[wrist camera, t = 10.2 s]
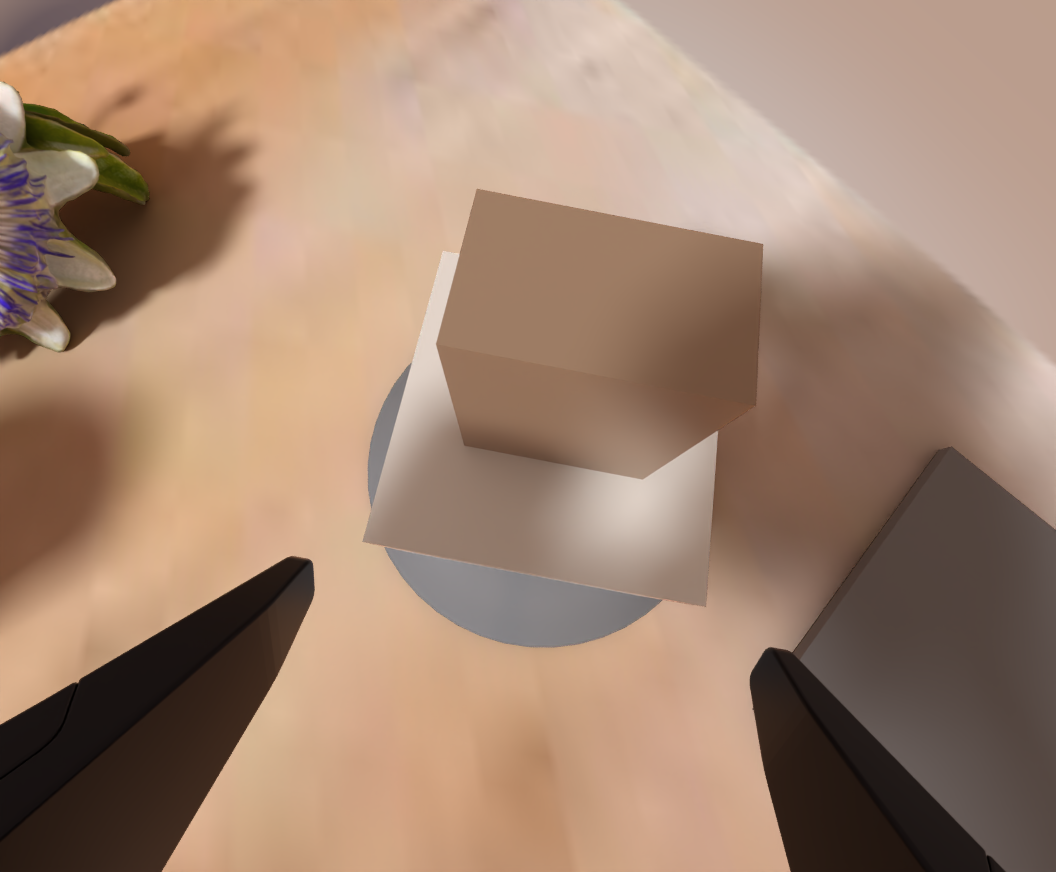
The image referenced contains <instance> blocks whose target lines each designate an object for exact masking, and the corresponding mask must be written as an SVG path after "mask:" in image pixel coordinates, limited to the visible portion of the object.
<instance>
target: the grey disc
mask: <svg viewBox="0 0 1056 872" xmlns="http://www.w3.org/2000/svg"><path fill="white" fill-rule="evenodd" d="M411 365H412V363H411V364H410V365H409V366H408V367H407V368H406V369H405V371H404V372H403V373H402V375H401V376H400V377H399V379H398V380H397V381H396V383H395V384H394V386H393V388H392V389H391V391H390V393H389V395H388V396H387V398H386V400H385V402H384V404H383V406H382V409H381V411H380V414H379V416H378V419H377V421H376V424H375V428H374V432H373V436H372V440H371V444H370V452H369V460H368V491H369V497H370V503H371V509H372V505H373V502H374V498H375V495H376V491H377V487H378V484H379V480H380V477H381V473H382V469H383V466H384V462H385V459H386V455H387V451H388V448H389V444H390V440H391V437H392V433H393V430H394V426H395V422H396V419H397V415H398V412H399V408H400V404H401V401H402V397H403V394H404V390H405V386H406V383H407V379H408V375H409V372H410V368H411ZM385 549H386V551H387V553H388V556H389V557H390V559H391V560H392V562H393V564H394V565H395V567H396V568H397V570H398V571H399V573H400V574H401V576H402V577H403V578H404V580H405V581H406V582H407V583H408V584H409V585H410V587H411V588H412V589H413V590H414V591H415V592H416V594H417V595H418V596H419V597H421V598H422V599H423V600H424V601H425V602H426V603H427V604H429V605H430V606H431V607H432V608H433V609H434V610H435V611H437V612H438V613H440V614H441V615H443V616H444V617H446V618H447V619H449V620H450V621H452V622H453V623H455V624H456V625H458V626H460V627H462V628H465V629H467V630H469V631H471V632H473V633H475V634H477V635H480V636H482V637H486V638H489V639H492V640H496V641H499V642H502V643H506V644H513V645H519V646H526V647H561V646H568V645H576V644H581V643H584V642H588V641H592V640H595V639H599V638H602V637H605V636H607V635H609V634H611V633H614V632H616V631H618V630H620V629H623V628H625V627H627V626H628V625H630V624H631V623H633V622H634V621H636V620H638V619H639V618H641V617H642V616H644V615H646V614H647V613H648V612H649V611H650V610H651V609H653V608H654V607H655V606H656V605H657V604H658V603H660V602H661V601H662V600H661V599H655V598H649V597H643V596H637V595H632V594H627V593H621V592H616V591H611V590H606V589H600V588H595V587H590V586H585V585H579V584H574V583H569V582H563V581H558V580H553V579H548V578H542V577H537V576H532V575H527V574H521V573H516V572H511V571H506V570H500V569H495V568H490V567H484V566H479V565H474V564H469V563H463V562H458V561H453V560H448V559H442V558H437V557H432V556H426V555H421V554H416V553H411V552H406V551H401V550H397V549H392V548H388V547H385Z"/></svg>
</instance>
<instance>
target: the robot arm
mask: <svg viewBox="0 0 1056 872" xmlns="http://www.w3.org/2000/svg"><path fill="white" fill-rule="evenodd" d="M314 591H315V587H314V571H313V563H312V561H311V560H309V559H306V558H301V557H296V556H290V557H287V558H285V559H284V560H282V561H280V562H278V563H277V564H275V565H273V566H272V567H270V568H268V569H267V570H265V571H263V572H261V573H260V574H258V575H256V576H255V577H253V578H251V579H250V580H248V581H246V582H244V583H243V584H241V585H239V586H238V587H236V588H234V589H232V590H231V591H229V592H227V593H226V594H224V595H222V596H221V597H219V598H217V599H215V600H214V601H212V602H210V603H209V604H207V605H205V606H204V607H202V608H200V609H198V610H197V611H195V612H193V613H192V614H190V615H188V616H187V617H185V618H183V619H181V620H180V621H178V622H176V623H175V624H173V625H171V626H169V627H168V628H166V629H164V630H163V631H161V632H159V633H158V634H156V635H154V636H152V637H151V638H149V639H147V640H146V641H144V642H142V643H141V644H139V645H137V646H135V647H134V648H132V649H130V650H129V651H127V652H125V653H123V654H122V655H120V656H118V657H117V658H115V659H113V660H112V661H110V662H108V663H106V664H105V665H103V666H101V667H100V668H98V669H96V670H95V671H93V672H91V673H89V674H88V675H86V676H84V677H83V678H81V679H80V680H79V682H78V683H76V682H75V683H72V684H70V685H69V686H67V687H65V688H64V689H62V690H60V691H58V692H57V693H55V694H53V695H52V696H50V697H48V698H46V699H45V700H43V701H41V702H39V703H38V704H36V705H34V706H32V707H31V708H29V709H27V710H25V711H24V712H22V713H20V714H18V715H17V716H15V717H13V718H11V719H9V720H8V721H6V722H4V723H2V724H1V725H0V872H162V870H163V868H164V867H165V865H166V863H167V862H168V860H169V858H170V856H171V855H172V853H173V851H174V850H175V848H176V846H177V845H178V843H179V841H180V840H181V838H182V836H183V835H184V833H185V831H186V830H187V828H188V826H189V824H190V823H191V821H192V819H193V818H194V816H195V814H196V813H197V811H198V809H199V808H200V806H201V804H202V803H203V801H204V799H205V797H206V796H207V794H208V792H209V791H210V789H211V787H212V786H213V784H214V782H215V781H216V779H217V777H218V776H219V774H220V772H221V771H222V769H223V767H224V765H225V764H226V762H227V760H228V759H229V757H230V755H231V754H232V752H233V750H234V749H235V747H236V745H237V744H238V742H239V740H240V738H241V737H242V735H243V733H244V732H245V730H246V728H247V727H248V725H249V723H250V722H251V720H252V718H253V717H254V715H255V713H256V712H257V710H258V708H259V706H260V705H261V703H262V701H263V700H264V698H265V696H266V695H267V693H268V691H269V690H270V688H271V686H272V684H273V682H274V681H275V679H276V677H277V675H278V673H279V671H280V669H281V667H282V665H283V663H284V661H285V658H286V656H287V654H288V652H289V650H290V648H291V645H292V643H293V641H294V639H295V637H296V635H297V632H298V630H299V628H300V626H301V624H302V622H303V619H304V617H305V615H306V613H307V611H308V609H309V607H310V604H311V602H312V599H313V596H314ZM750 690H751V696H752V702H753V708H754V714H755V720H756V726H757V732H758V738H759V744H760V750H761V756H762V762H763V767H764V771H765V776H766V780H767V784H768V788H769V791H770V795H771V799H772V803H773V807H774V810H775V814H776V818H777V822H778V826H779V829H780V833H781V837H782V841H783V844H784V848H785V852H786V856H787V860H788V863H789V867H790V871H791V872H1006V871H1005V870H1004V869H1003V868H1002V867H1001V866H1000V865H999V864H998V863H997V862H996V861H995V860H994V859H993V858H992V857H991V856H989V855H987V854H986V851H985V850H984V849H983V847H982V846H981V845H980V844H979V843H978V842H977V841H976V840H975V839H974V838H973V837H972V836H971V835H970V834H969V833H968V832H967V831H966V830H965V829H964V828H963V827H962V826H961V825H960V824H959V823H958V822H957V821H956V820H955V819H954V818H953V817H952V816H951V815H950V814H949V813H948V812H947V811H946V810H945V809H944V808H943V806H942V805H941V804H940V803H939V802H938V801H937V800H936V799H935V798H934V797H933V796H932V795H931V794H930V793H929V792H928V791H927V790H926V789H925V788H924V787H923V786H922V785H921V784H920V783H919V782H918V781H917V780H916V779H915V778H914V777H913V776H912V775H911V774H910V773H909V772H908V771H907V770H906V769H905V768H904V766H903V765H902V764H901V763H900V762H899V761H898V760H897V759H896V758H895V757H894V756H893V755H892V754H891V753H890V752H889V751H888V750H887V749H886V748H885V747H884V746H883V745H882V744H881V743H880V742H879V741H878V740H877V739H876V738H875V737H874V736H873V735H872V734H871V733H870V732H869V731H868V730H867V729H866V728H865V727H864V725H863V724H862V723H861V722H860V721H859V720H858V719H857V718H856V717H855V716H854V715H853V714H852V713H851V712H850V711H849V710H848V709H847V708H846V707H845V706H844V705H843V704H842V703H841V702H840V701H839V700H838V699H837V698H836V697H835V696H834V695H833V694H832V693H831V692H830V691H829V690H828V689H827V688H826V687H825V686H824V684H823V683H822V682H821V681H820V680H819V679H818V678H817V677H816V676H815V675H814V674H813V673H812V672H811V671H810V670H809V669H808V668H807V667H806V666H805V665H804V664H803V663H802V662H801V661H800V660H799V659H798V658H797V657H796V656H795V655H794V654H793V653H792V652H790V651H788V650H783V649H778V648H773V647H769V648H768V649H766V650H765V651H764V653H763V654H762V656H761V657H760V659H759V661H758V662H757V664H756V666H755V667H754V669H753V670H752V672H751V675H750Z"/></svg>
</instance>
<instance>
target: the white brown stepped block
mask: <svg viewBox="0 0 1056 872" xmlns="http://www.w3.org/2000/svg"><path fill="white" fill-rule="evenodd" d="M762 259H763V244H760V243H755V242H750V241H744V240H739V239H734V238H729V237H724V236H719V235H713V234H708V233H703V232H698V231H693V230H687V229H682V228H677V227H672V226H667V225H662V224H656V223H651V222H646V221H641V220H636V219H630V218H625V217H620V216H615V215H610V214H604V213H599V212H594V211H589V210H584V209H579V208H573V207H568V206H563V205H558V204H553V203H547V202H542V201H537V200H532V199H527V198H521V197H516V196H511V195H506V194H501V193H496V192H490V191H485V190H480V189H477V190H476V194H475V198H474V202H473V206H472V209H471V213H470V217H469V221H468V224H467V228H466V232H465V236H464V240H463V243H462V247H461V251H460V254H457V253H452V252H446V251H443V253H442V256H441V260H440V264H439V267H438V271H437V274H436V278H435V282H434V285H433V289H432V292H431V296H430V300H429V303H428V307H427V310H426V314H425V318H424V321H423V325H422V329H421V332H420V336H419V339H418V343H417V347H416V350H415V354H414V357H413V361H412V365H411V368H410V372H409V375H408V379H407V383H406V386H405V390H404V394H403V397H402V401H401V404H400V408H399V412H398V415H397V419H396V422H395V426H394V430H393V433H392V437H391V440H390V444H389V448H388V451H387V455H386V459H385V462H384V466H383V469H382V473H381V477H380V480H379V484H378V487H377V491H376V495H375V498H374V502H373V505H372V509H371V513H370V516H369V520H368V524H367V527H366V531H365V534H364V538H363V542H366V543H370V544H375V545H379V546H384V547H388V548H392V549H397V550H401V551H406V552H411V553H416V554H421V555H426V556H432V557H437V558H442V559H448V560H453V561H458V562H463V563H469V564H474V565H479V566H484V567H490V568H495V569H500V570H506V571H511V572H516V573H521V574H527V575H532V576H537V577H542V578H548V579H553V580H558V581H563V582H569V583H574V584H579V585H585V586H590V587H595V588H600V589H606V590H611V591H616V592H621V593H627V594H632V595H637V596H643V597H649V598H655V599H661V600H667V601H673V602H679V603H685V604H691V605H697V606H704V607H706V600H707V586H708V571H709V556H710V542H711V527H712V512H713V498H714V483H715V469H716V454H717V439H718V430H719V429H721V428H722V427H724V426H725V425H727V424H728V423H730V422H732V421H733V420H735V419H736V418H738V417H739V416H741V415H742V414H744V413H745V412H747V411H748V410H750V409H751V408H753V407H754V406H756V392H757V370H758V348H759V325H760V303H761V281H762Z"/></svg>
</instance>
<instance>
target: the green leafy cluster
mask: <svg viewBox="0 0 1056 872" xmlns="http://www.w3.org/2000/svg"><path fill="white" fill-rule="evenodd" d="M104 147H106V148H109V149H111V150H113V151H114V152H116V153H118V154H119V155H122V156H129V155H130V150H129V149H128V147H127V146H125V145H124V144H123V143H121V142H120V141H118V140H117V139H116V138H114V137H113V136H110V135H107V134H104V133H102V132H98V131H96V130H91V129H89V128H88V127H87V126H85V125H84V124H80V123H78V122H75V121H73V120H72V119H70V118H69V117H67V116H65V115H64V114H62V113H60V112H59V111H57V110H55V109H52V108H48V107H44V106H41V105H35V104H25V103H23V102H22V98H21V96H20V94H19V92H18V91H16V89H15V88H14V87H13V86H10V85H8V84H6V83H5V82H1V81H0V337H1V336H3V335H7V334H17V335H22V336H24V337H26V338H27V339H29V340H30V341H32V342H33V343H35V344H37V345H39V346H42V347H45V348H48V349H51V350H53V351H56V352H63V351H64V350H65V348H66V347H67V345H68V343H69V341H70V332H69V330H68V328H67V327H66V325H65V323H64V321H63V320H62V318H61V317H60V315H59V314H58V312H57V311H56V310H55V309H54V308H53V306H52V305H51V304H50V303H49V302H48V301H47V300H46V299H47V296H48V294H49V293H50V292H51V290H52V289H57V288H59V287H63V288H69V289H73V290H76V291H83V292H96V291H105V290H109V289H112V288H114V287H115V285H116V278H115V276H114V274H113V272H112V271H111V269H110V268H109V266H108V264H107V263H106V262H105V260H104V259H103V258H102V257H101V256H100V255H99V254H98V253H97V252H96V251H95V250H93V249H92V248H90V247H88V246H87V245H86V244H84V243H83V242H81V241H80V240H78V239H77V238H76V237H75V236H73V235H72V234H71V233H70V232H69V231H68V230H67V228H66V227H65V226H64V224H63V223H62V222H61V219H60V217H59V210H60V209H61V208H62V207H63V206H64V205H65V204H66V203H67V202H68V201H70V200H75V199H76V198H77V197H79V196H80V195H82V194H84V193H86V192H88V191H89V190H91V189H94V190H97V191H101V192H106V193H110V194H112V195H115V196H118V197H120V198H122V199H125V200H128V201H132V202H135V203H137V204H141V205H145V201H146V200H147V201H148V200H149V190H148V184H147V183H146V182H145V181H144V180H143V177H142V176H141V174H140V173H139V172H138V171H137V170H135V169H133V168H131V167H130V166H128V165H127V164H126V163H125V162H123V161H122V160H121V159H120V158H119V157H118V156H116V155H114V154H112V153H110V152H108V151H107V150H106V148H104Z"/></svg>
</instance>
